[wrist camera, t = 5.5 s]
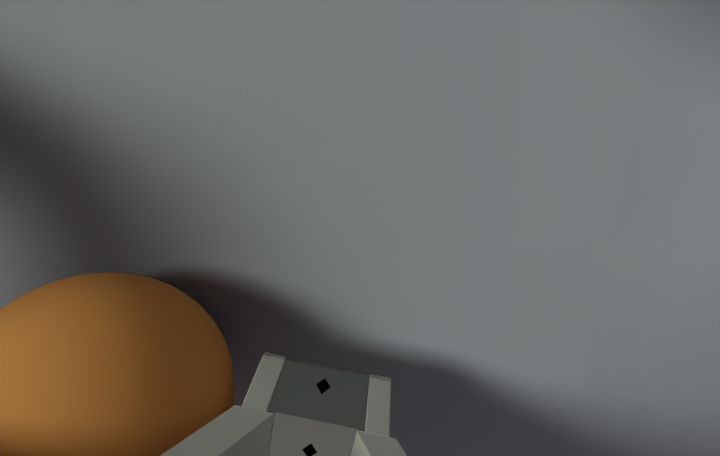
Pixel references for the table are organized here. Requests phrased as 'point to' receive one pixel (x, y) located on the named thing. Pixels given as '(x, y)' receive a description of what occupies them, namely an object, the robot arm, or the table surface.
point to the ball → (108, 368)
